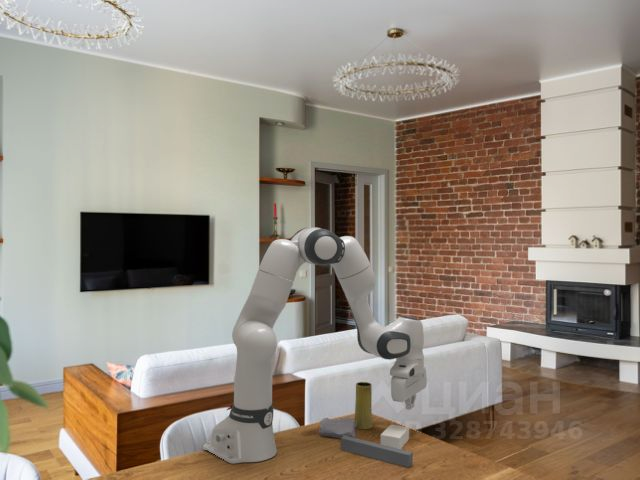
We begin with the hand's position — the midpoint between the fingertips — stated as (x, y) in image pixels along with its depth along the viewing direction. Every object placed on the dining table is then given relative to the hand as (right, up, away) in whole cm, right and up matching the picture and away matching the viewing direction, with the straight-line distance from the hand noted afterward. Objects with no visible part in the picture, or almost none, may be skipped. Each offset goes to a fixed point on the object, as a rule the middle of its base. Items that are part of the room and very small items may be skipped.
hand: (410, 408), depth 178 cm
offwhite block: (-6, -8, -8) cm, 13 cm away
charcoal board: (-13, -8, -19) cm, 25 cm away
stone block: (-24, -8, -1) cm, 25 cm away
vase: (-15, -8, +6) cm, 18 cm away
